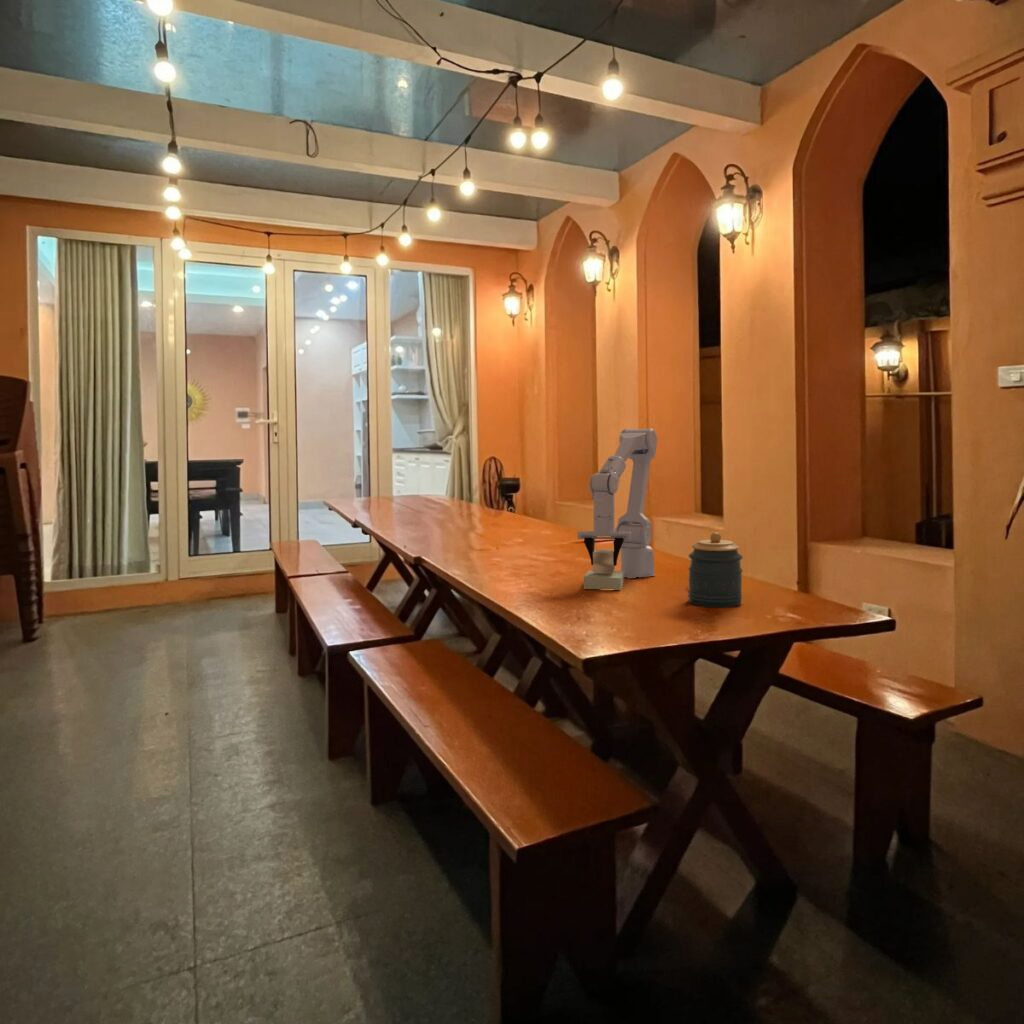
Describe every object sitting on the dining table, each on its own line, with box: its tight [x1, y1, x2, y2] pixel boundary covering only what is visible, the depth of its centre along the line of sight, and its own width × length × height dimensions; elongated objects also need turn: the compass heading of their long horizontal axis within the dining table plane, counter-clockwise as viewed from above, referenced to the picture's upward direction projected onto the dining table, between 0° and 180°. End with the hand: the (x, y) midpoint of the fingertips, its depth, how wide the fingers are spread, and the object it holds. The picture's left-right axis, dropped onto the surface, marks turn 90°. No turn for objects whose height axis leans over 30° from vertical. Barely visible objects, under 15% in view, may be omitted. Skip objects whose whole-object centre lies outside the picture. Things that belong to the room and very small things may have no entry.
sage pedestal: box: [583, 570, 625, 591], centre depth 203 cm, size 10×10×4 cm
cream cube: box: [592, 549, 616, 573], centre depth 203 cm, size 6×6×6 cm
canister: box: [687, 531, 743, 609], centre depth 181 cm, size 13×13×18 cm
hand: (604, 564), depth 203 cm, fingers closed on cream cube, 5 cm apart
